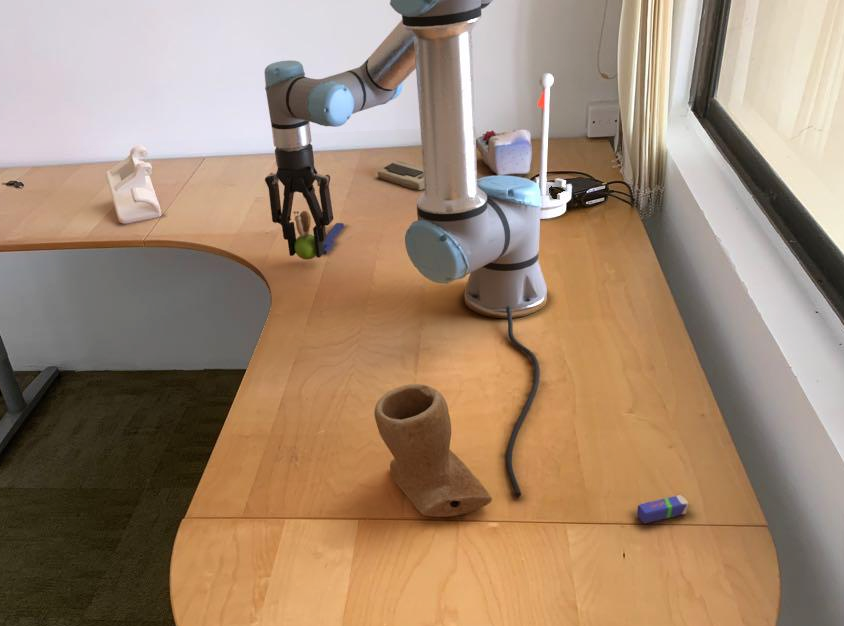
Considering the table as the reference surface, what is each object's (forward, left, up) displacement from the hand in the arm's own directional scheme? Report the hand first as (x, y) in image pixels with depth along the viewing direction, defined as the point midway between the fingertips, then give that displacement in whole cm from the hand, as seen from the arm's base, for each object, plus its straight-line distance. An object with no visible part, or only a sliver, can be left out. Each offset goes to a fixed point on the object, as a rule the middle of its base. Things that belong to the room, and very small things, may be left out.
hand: (307, 253), depth 179 cm
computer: (+51, -8, -3) cm, 52 cm away
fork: (+13, 0, -2) cm, 13 cm away
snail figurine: (0, 0, -2) cm, 2 cm away
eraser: (-65, -74, -3) cm, 98 cm away
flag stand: (+35, -44, -3) cm, 57 cm away
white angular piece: (+24, +57, -3) cm, 62 cm away
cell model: (+63, -31, -3) cm, 71 cm away
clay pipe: (-67, -44, -3) cm, 80 cm away
